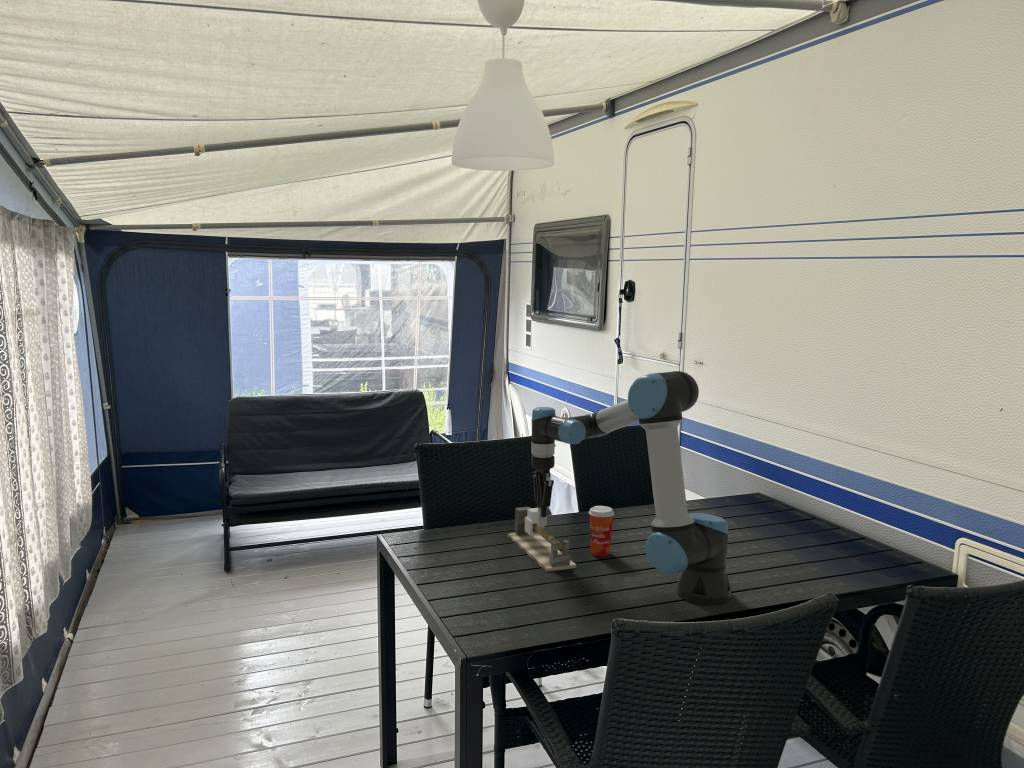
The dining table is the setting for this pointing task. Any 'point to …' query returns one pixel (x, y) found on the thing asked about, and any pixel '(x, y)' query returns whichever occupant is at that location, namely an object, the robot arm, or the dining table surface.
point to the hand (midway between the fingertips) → (542, 525)
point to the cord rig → (541, 545)
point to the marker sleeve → (531, 521)
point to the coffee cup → (600, 530)
